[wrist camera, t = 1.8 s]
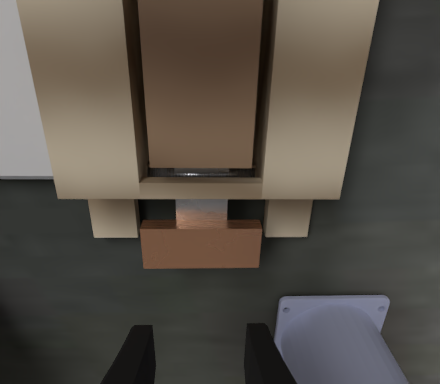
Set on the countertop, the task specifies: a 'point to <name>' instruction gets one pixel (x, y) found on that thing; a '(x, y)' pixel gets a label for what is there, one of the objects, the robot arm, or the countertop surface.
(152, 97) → the walnut block
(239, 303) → the countertop surface
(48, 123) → the pocket board
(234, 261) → the lever
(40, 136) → the grey pad
